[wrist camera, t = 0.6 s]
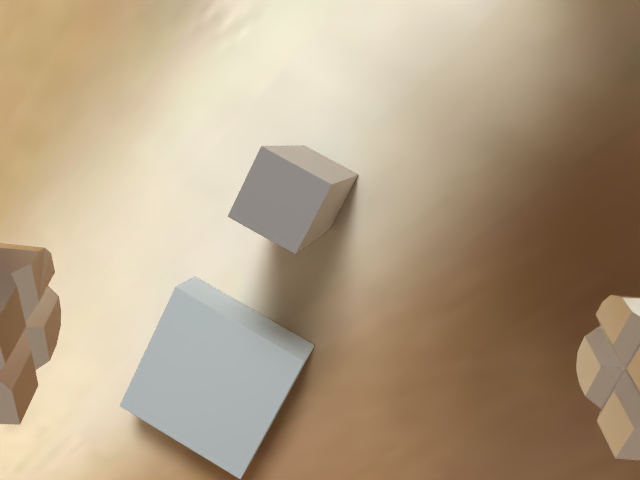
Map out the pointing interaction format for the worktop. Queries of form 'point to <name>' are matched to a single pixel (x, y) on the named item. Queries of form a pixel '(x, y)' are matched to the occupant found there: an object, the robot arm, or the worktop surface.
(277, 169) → the tall taupe square pillar
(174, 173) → the worktop surface
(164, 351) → the painted riser
